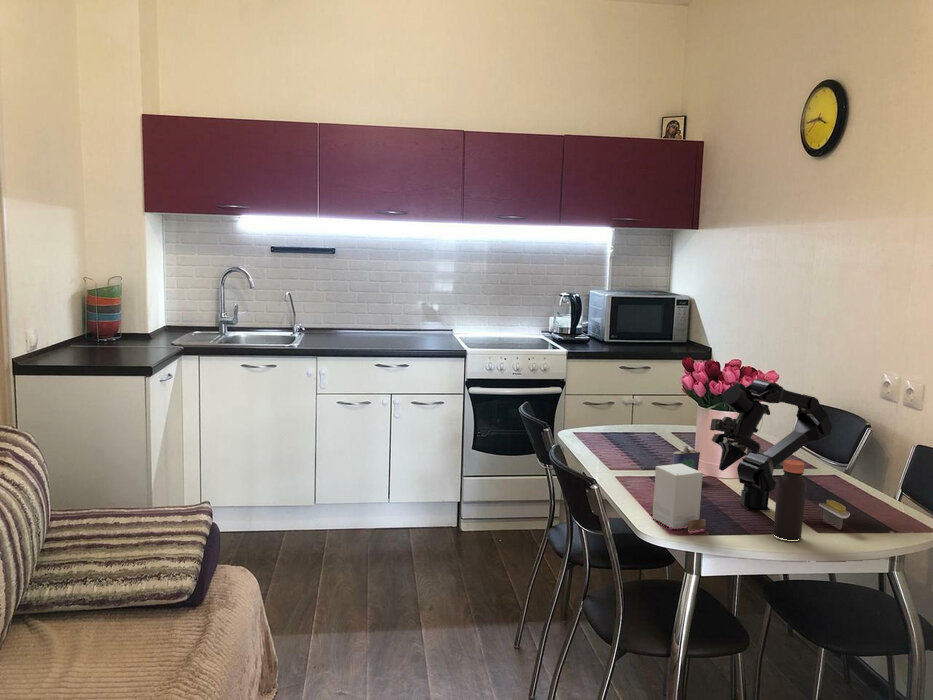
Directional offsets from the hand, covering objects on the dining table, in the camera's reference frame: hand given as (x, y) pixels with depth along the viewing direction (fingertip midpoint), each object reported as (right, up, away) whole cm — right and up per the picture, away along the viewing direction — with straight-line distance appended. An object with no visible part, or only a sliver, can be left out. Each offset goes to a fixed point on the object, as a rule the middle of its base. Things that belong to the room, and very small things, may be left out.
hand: (720, 469), depth 218 cm
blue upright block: (-1, -8, +32) cm, 33 cm away
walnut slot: (-14, -13, -6) cm, 20 cm away
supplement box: (-14, -13, -6) cm, 20 cm away
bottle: (+13, -15, -13) cm, 24 cm away
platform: (+29, -15, -4) cm, 33 cm away
